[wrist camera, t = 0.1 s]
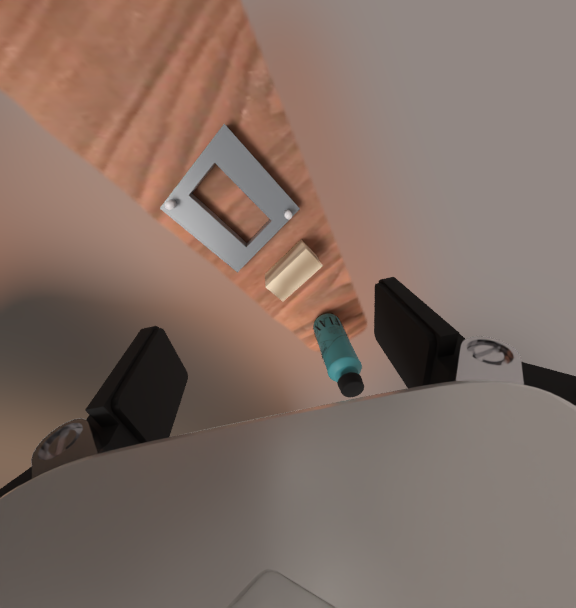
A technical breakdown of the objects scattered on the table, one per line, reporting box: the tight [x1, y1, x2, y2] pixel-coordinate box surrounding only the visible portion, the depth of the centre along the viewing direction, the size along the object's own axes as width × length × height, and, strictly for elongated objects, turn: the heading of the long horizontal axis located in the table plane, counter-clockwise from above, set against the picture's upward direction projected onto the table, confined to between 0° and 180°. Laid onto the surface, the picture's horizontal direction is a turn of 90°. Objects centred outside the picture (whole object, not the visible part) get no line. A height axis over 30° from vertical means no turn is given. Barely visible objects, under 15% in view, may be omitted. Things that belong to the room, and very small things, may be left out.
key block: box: [265, 240, 323, 301], centre depth 47 cm, size 4×10×6 cm, turn 134°
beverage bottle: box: [313, 314, 364, 397], centre depth 49 cm, size 6×7×20 cm
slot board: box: [160, 124, 299, 272], centre depth 41 cm, size 16×16×4 cm
